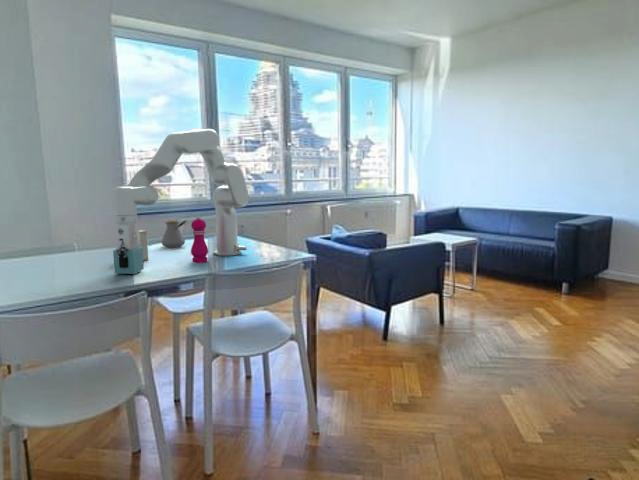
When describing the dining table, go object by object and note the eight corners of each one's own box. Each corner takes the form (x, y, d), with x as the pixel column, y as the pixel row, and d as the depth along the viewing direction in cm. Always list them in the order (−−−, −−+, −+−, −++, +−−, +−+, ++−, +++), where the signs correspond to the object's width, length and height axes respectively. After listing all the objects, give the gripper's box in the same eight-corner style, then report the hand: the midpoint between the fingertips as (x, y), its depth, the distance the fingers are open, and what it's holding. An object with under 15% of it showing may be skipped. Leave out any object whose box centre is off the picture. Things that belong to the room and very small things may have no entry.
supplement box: (149, 259, 202) (147, 230, 200) (140, 262, 198) (138, 231, 196) (135, 258, 206) (133, 229, 204) (126, 260, 201) (124, 230, 199)
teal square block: (143, 269, 181) (142, 247, 180) (134, 273, 173) (133, 250, 172) (124, 268, 182) (123, 246, 180) (114, 273, 174) (113, 250, 173)
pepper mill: (211, 260, 201) (210, 214, 198) (202, 264, 195) (200, 216, 191) (197, 259, 204) (195, 214, 200) (187, 262, 197) (185, 215, 194)
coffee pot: (157, 246, 234) (156, 217, 232) (179, 244, 242) (178, 215, 239) (176, 253, 218) (174, 221, 216) (198, 250, 226) (197, 219, 223)
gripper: (125, 222, 166) (128, 270, 168) (146, 217, 183) (148, 260, 185) (104, 222, 166) (108, 270, 169) (127, 216, 183) (130, 260, 186)
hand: (129, 264), depth 177 cm, fingers closed on teal square block, 7 cm apart
